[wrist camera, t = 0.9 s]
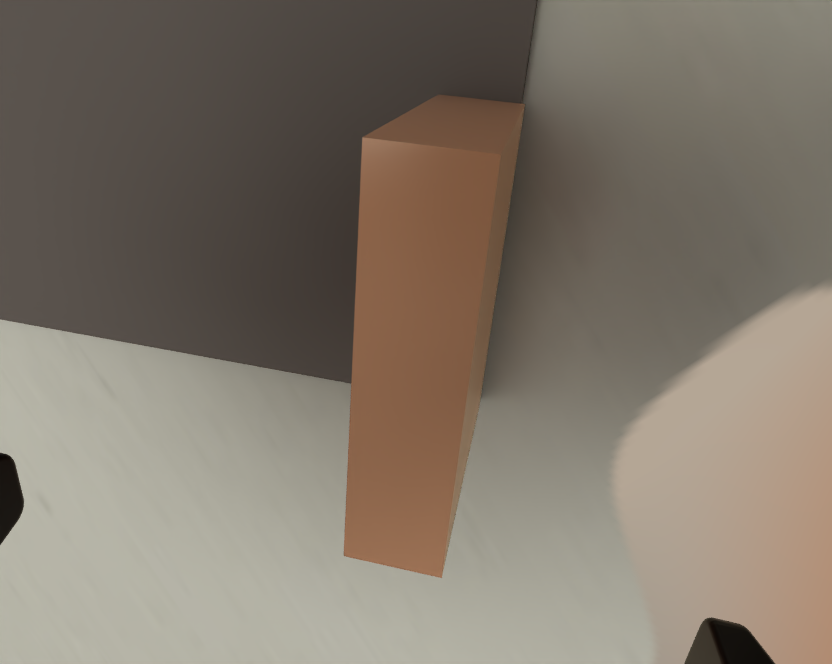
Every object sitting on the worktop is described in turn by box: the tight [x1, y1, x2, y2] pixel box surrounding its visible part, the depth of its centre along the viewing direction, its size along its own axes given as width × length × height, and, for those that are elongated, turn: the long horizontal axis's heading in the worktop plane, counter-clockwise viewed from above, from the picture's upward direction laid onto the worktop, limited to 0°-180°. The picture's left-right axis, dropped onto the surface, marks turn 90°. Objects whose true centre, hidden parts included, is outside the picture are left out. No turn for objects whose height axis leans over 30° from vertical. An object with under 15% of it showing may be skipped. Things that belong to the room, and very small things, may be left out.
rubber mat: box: [0, 0, 537, 383], centre depth 18 cm, size 18×15×1 cm
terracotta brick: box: [344, 94, 525, 578], centre depth 15 cm, size 2×9×7 cm, turn 175°
